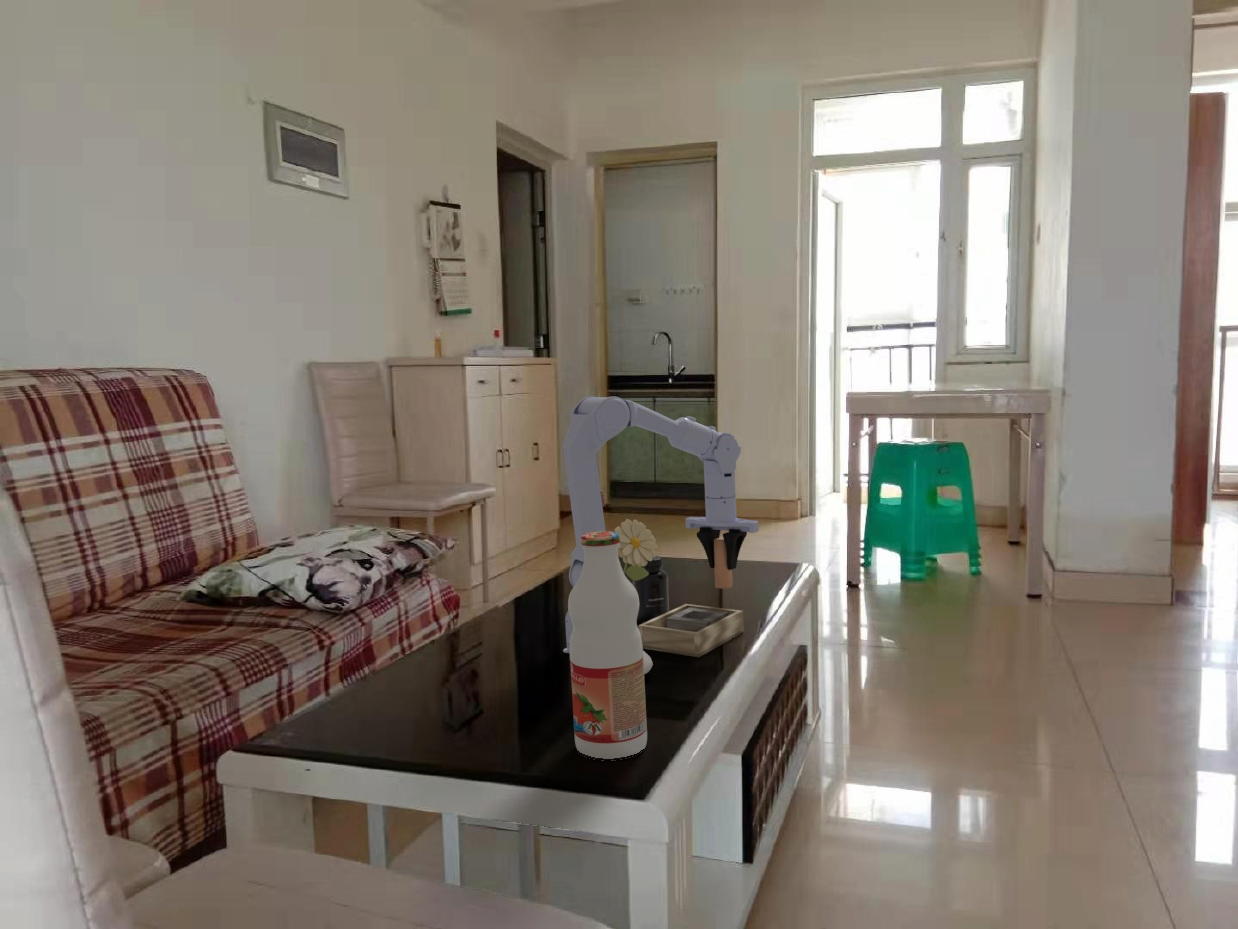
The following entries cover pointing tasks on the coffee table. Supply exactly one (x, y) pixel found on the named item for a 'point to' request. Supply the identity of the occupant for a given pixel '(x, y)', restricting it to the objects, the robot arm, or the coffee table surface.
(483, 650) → the coffee table surface
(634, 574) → the flower in vase
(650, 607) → the supplement bottle
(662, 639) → the box
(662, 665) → the coffee table surface
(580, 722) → the fruit juice
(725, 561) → the peg
